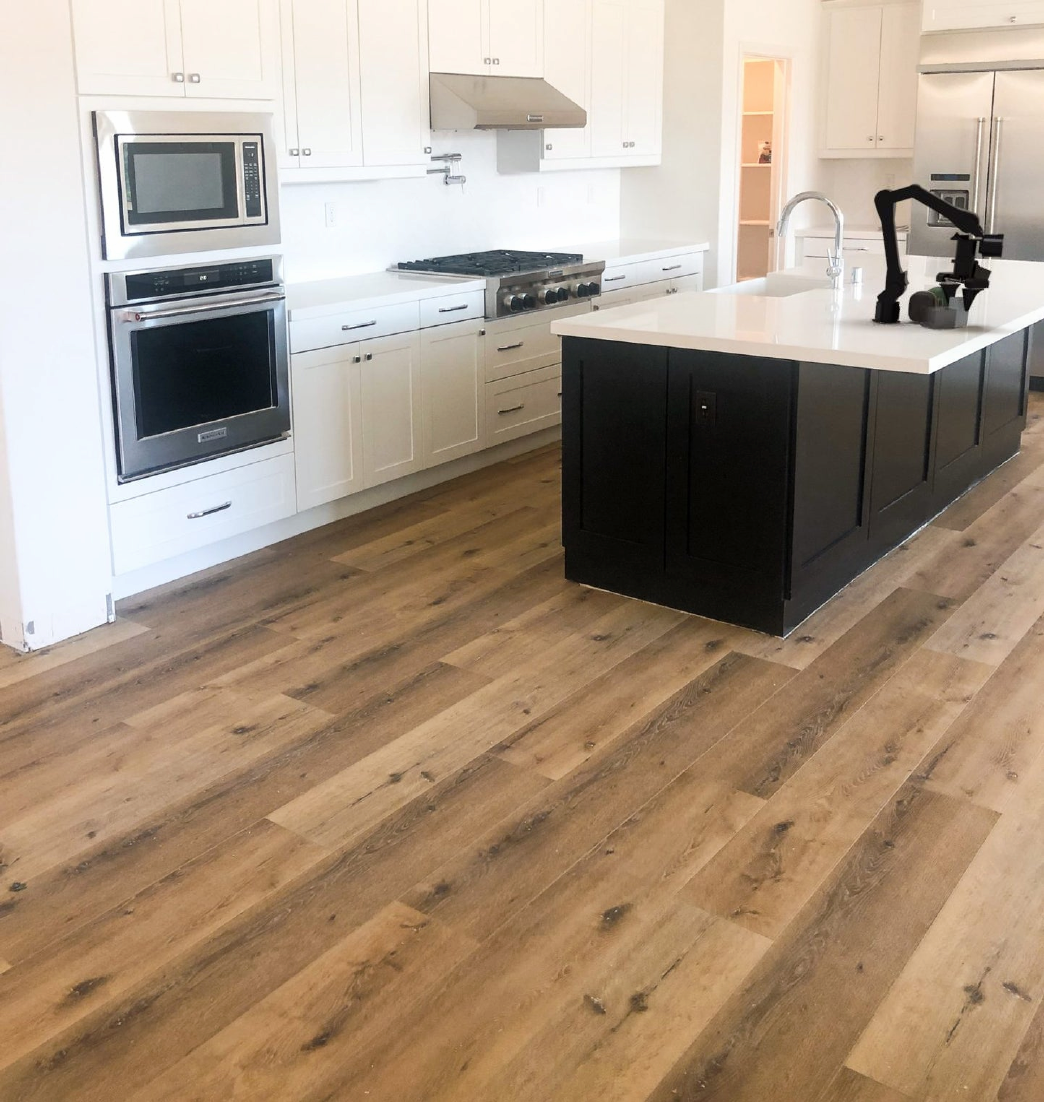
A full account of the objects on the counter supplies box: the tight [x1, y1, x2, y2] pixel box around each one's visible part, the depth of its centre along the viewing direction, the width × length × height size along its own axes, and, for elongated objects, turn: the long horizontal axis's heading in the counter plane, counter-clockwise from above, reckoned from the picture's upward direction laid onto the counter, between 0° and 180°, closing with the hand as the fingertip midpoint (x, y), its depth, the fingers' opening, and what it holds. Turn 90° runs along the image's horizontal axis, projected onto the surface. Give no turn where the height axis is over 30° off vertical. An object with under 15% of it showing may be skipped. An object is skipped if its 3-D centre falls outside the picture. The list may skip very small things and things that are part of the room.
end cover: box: [948, 296, 970, 328], centre depth 362 cm, size 11×6×8 cm, turn 106°
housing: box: [920, 306, 957, 330], centre depth 361 cm, size 7×7×6 cm
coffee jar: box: [907, 286, 949, 323], centre depth 374 cm, size 10×8×19 cm
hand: (958, 309), depth 362 cm, fingers open, 8 cm apart
